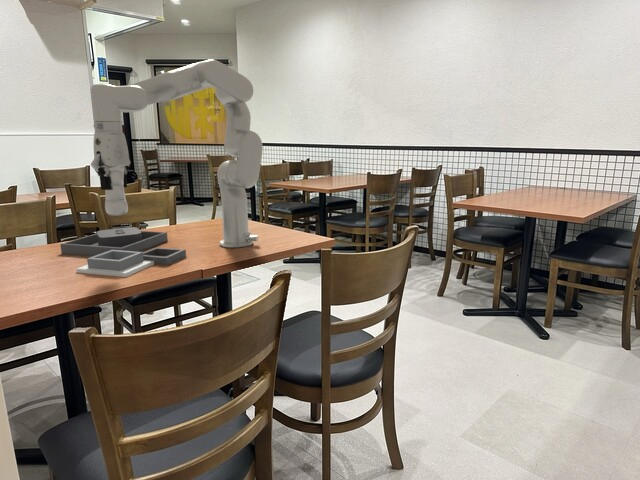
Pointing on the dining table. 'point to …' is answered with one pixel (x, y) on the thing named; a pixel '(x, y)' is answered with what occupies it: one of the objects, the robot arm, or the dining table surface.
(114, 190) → the plastic bottle
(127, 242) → the streaming box
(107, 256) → the board
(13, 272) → the dining table surface
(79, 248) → the dark grey organizer tray
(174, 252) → the tray
